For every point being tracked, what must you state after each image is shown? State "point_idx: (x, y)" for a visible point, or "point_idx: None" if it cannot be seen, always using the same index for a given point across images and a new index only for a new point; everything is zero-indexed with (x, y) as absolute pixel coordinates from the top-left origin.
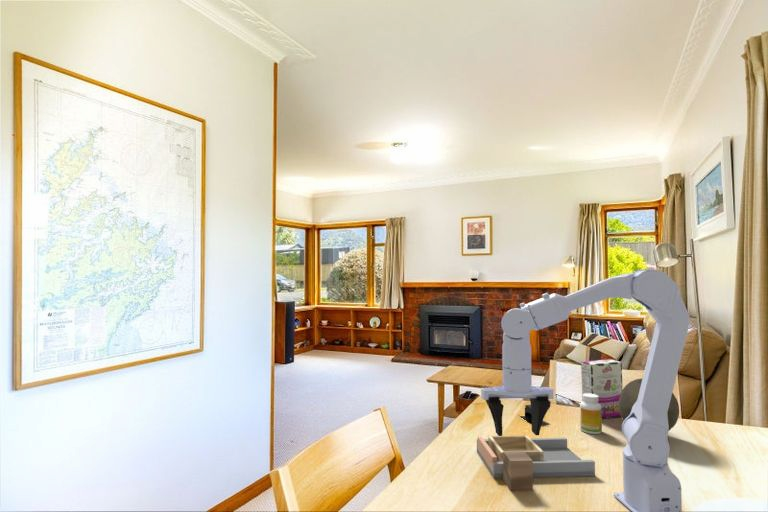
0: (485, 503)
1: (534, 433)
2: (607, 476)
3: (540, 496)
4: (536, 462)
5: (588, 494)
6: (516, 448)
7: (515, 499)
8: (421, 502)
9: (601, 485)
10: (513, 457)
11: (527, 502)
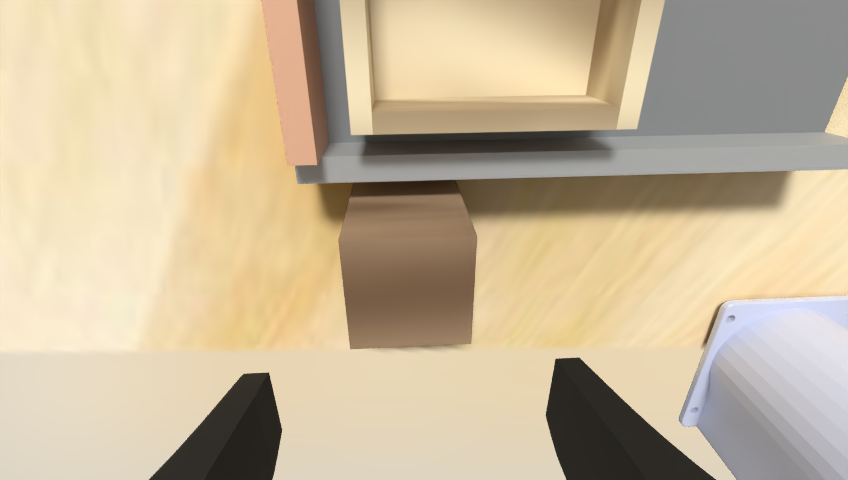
0: (248, 340)
1: (550, 397)
2: None
3: None
4: (546, 171)
5: (644, 288)
6: None
7: None
8: (3, 335)
9: (747, 228)
10: (379, 314)
11: None
